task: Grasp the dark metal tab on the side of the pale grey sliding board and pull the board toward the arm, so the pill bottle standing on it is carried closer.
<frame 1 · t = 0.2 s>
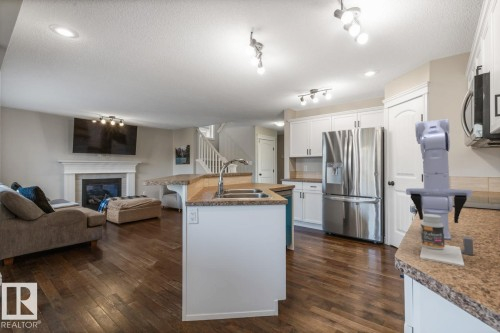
hand: (438, 220, 64), 10 cm above the countertop, fingers open, 7 cm apart
pull board: (446, 246, 65), point 2 cm above the countertop, slide at 0.2 cm, touching pill bottle
pill bottle: (433, 247, 70), resting on pull board
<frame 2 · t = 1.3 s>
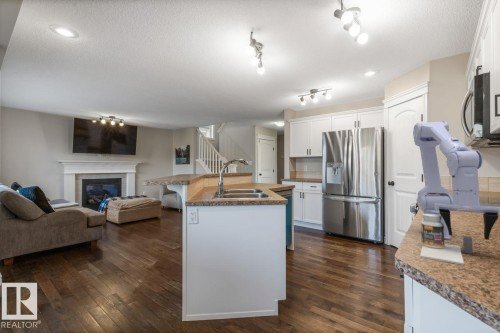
hand: (467, 236, 66), 5 cm above the countertop, fingers open, 7 cm apart
pull board: (446, 245, 66), point 2 cm above the countertop, slide at 1.6 cm, touching pill bottle
pill bottle: (433, 246, 71), resting on pull board, touching gripper
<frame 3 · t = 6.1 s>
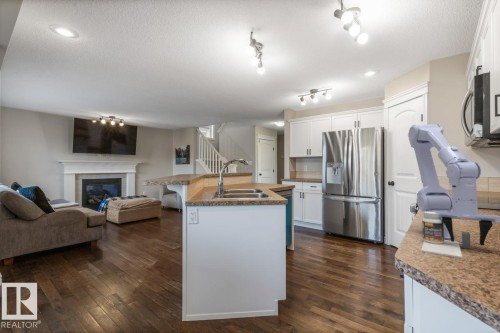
hand: (466, 242, 70), 2 cm above the countertop, fingers open, 6 cm apart
pull board: (446, 240, 71), point 2 cm above the countertop, slide at 7.5 cm, touching pill bottle
pill bottle: (433, 242, 76), resting on pull board, touching gripper
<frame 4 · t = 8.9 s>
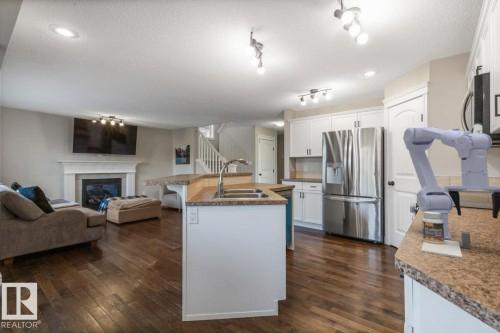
hand: (476, 216, 68), 10 cm above the countertop, fingers open, 7 cm apart
pill bottle: (433, 242, 76), resting on pull board
everything else where it was.
at the end: pull board slide at 7.5 cm; pill bottle inside the target area (0.5 cm from its centre), resting on pull board; pill bottle tilted 0° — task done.
